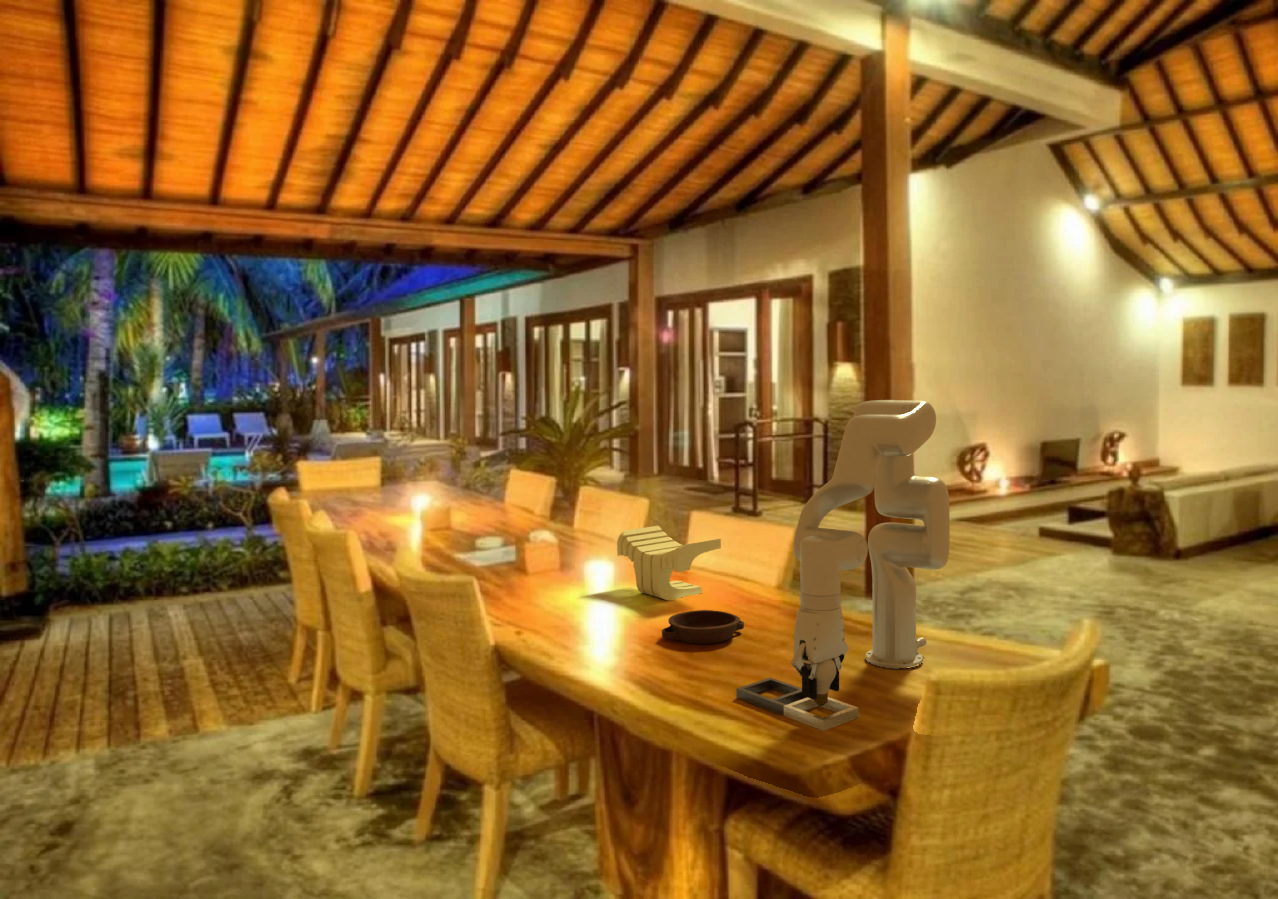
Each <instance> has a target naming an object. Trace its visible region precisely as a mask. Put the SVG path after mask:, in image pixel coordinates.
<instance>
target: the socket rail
mask: <svg viewBox="0 0 1278 899" xmlns="http://www.w3.org/2000/svg"><path fill="white" fill-rule="evenodd" d="M735 689H736V690H735V691H736V693H735V694H736V699H738V700H741V701H744V702H746V703H748V704H751V705H753V706H757V707H759V708H762V709H765V710H766V711H770V712H773V713H775V714H777V715H780V716H783V717H785V718H789V719H791V720H793V721H796V722H799V723H801V724H804V725H807V726H810V727H812V728H815V729H817V730H819V731H823V732H826V731H829V730H831V729H833V728H836V727H837V726H840V725H843V724H846V723H848V722H851V721H853V720H856V719H858V718H859V706H855V705H853V704H850V703H847V702H844V701H841V700H838V699H836V698H832V697H829V696H828V702H827V703H826V704H824V705H823V706H819V705H818V704H817V703H815V702H814V699H811V698H808V697H805V696H803V695H802V687H799V686H796V685H793V684H791V683H788V682H785V681H781V680H779V679H776V678H773V677H768V678H765V679H761V680H758V681H756V682H752V683H749V684H746V685H743V686H740V687H737V688H735ZM768 689H769V690H772V689H773V690H772V691H775V692H779V693H781V694H783V695H779V696H778V697H777V696H776V697H773V698H770V697H767V696H765V695H761V694H760V693H763V692H766V691H769V690H768ZM816 707H821V708H823V709H826V710H829V709H830V710H829V711H831V710H832V712H834V713H832V714H830V715H827V716H824V717H823V716H820V715H817V714H814V713H812V712H808V710H811V709H814V708H816Z"/></svg>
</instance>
